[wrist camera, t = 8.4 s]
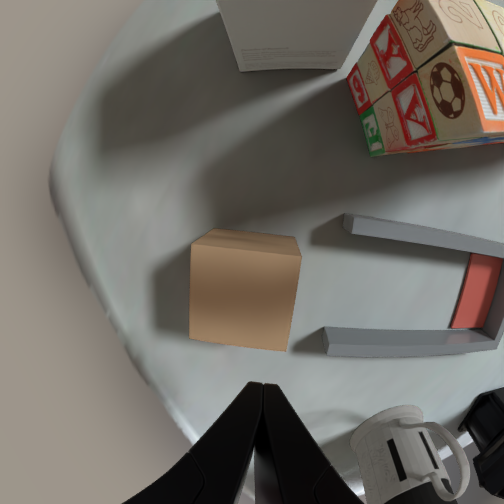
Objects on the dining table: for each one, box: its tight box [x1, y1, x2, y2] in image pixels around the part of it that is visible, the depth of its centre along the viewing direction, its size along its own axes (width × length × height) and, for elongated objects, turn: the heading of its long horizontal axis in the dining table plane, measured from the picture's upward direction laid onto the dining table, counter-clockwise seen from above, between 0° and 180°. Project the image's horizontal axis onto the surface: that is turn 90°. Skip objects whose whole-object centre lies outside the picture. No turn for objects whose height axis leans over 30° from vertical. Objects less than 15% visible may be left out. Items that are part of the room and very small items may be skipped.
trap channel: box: [322, 213, 504, 357], centre depth 17 cm, size 10×18×2 cm, turn 85°
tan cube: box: [189, 228, 302, 352], centre depth 17 cm, size 6×6×6 cm
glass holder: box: [350, 405, 470, 504], centre depth 15 cm, size 9×14×15 cm, turn 5°
